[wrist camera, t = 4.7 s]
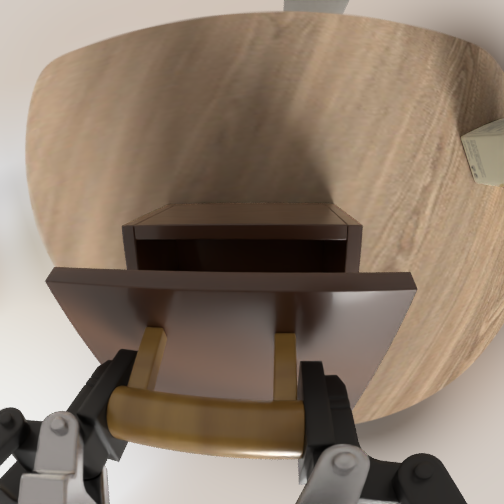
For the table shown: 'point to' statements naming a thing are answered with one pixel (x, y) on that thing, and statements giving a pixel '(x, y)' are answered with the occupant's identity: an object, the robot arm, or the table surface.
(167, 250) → the chest
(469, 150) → the cosmetic box
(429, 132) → the table surface
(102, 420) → the robot arm
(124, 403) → the lid
